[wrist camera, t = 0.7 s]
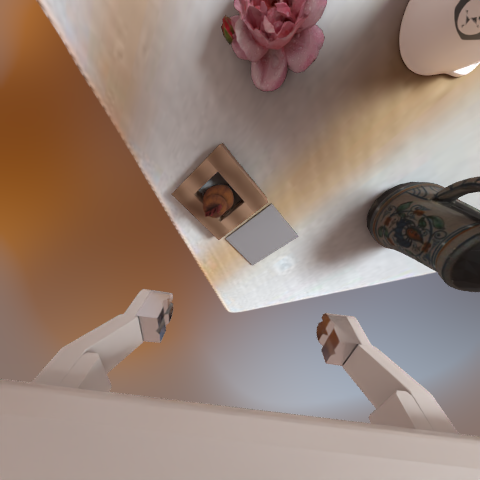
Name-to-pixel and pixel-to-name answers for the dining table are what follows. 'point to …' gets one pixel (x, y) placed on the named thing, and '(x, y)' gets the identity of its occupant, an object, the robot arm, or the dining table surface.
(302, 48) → the flower
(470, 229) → the beer stein
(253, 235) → the slate mat
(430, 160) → the dining table surface
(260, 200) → the walnut socket block
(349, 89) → the dining table surface
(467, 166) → the dining table surface
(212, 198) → the wooden figurine
